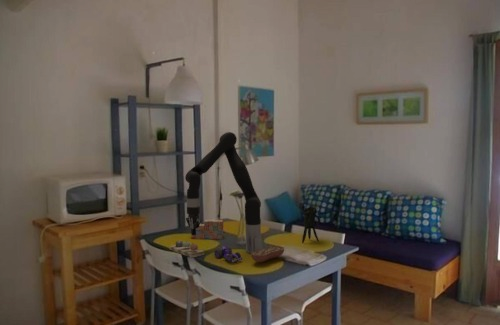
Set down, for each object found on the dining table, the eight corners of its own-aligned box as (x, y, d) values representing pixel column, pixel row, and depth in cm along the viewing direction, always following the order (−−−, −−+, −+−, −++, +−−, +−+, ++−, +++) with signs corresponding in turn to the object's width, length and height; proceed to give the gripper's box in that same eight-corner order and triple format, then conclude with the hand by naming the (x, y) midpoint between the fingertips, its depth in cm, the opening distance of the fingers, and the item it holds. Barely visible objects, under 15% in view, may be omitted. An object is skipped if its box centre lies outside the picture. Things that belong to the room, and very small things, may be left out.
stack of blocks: (191, 238, 275) (190, 221, 274) (193, 236, 281) (192, 219, 281) (222, 239, 273) (221, 221, 272) (223, 237, 280) (223, 219, 279)
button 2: (191, 246, 243) (191, 242, 243) (185, 247, 240) (185, 243, 240) (187, 245, 246) (187, 240, 246) (181, 246, 243) (181, 242, 243)
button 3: (184, 245, 249) (184, 241, 249) (178, 247, 246) (178, 243, 246) (180, 244, 252) (180, 240, 252) (174, 245, 249) (174, 241, 249)
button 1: (199, 249, 237) (199, 244, 237) (193, 250, 234) (192, 246, 234) (195, 247, 240) (194, 243, 240) (188, 249, 237) (188, 244, 237)
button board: (204, 254, 237) (204, 251, 237) (191, 257, 231) (191, 254, 231) (182, 246, 255) (181, 243, 255) (169, 249, 249) (169, 246, 249)
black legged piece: (310, 238, 273) (310, 201, 271) (325, 240, 265) (325, 203, 264) (293, 243, 259) (293, 205, 257) (308, 247, 251) (308, 207, 250)
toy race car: (232, 263, 222) (231, 251, 221) (214, 257, 232) (214, 246, 232) (244, 259, 228) (244, 248, 228) (226, 254, 239) (226, 243, 238)
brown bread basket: (259, 265, 217) (259, 256, 217) (247, 261, 224) (246, 252, 224) (287, 256, 233) (287, 248, 233) (274, 253, 240) (274, 244, 240)
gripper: (205, 206, 233) (205, 235, 234) (192, 203, 243) (192, 231, 244) (194, 207, 228) (194, 238, 229) (181, 205, 238) (182, 233, 239)
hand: (193, 234), depth 237 cm, fingers closed
